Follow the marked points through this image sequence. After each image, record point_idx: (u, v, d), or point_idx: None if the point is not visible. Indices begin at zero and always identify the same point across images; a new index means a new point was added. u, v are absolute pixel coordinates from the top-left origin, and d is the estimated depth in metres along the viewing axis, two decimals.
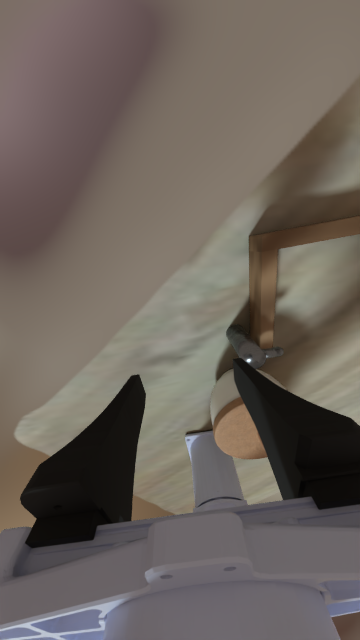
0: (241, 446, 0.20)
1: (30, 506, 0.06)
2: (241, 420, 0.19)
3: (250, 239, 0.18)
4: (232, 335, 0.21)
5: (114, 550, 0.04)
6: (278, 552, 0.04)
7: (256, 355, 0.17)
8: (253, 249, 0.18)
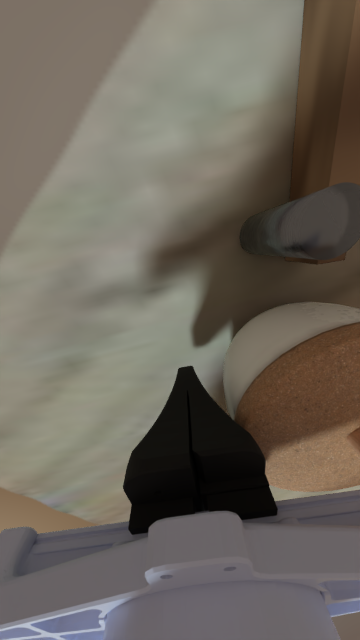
0: (301, 466, 0.09)
1: (132, 492, 0.06)
2: (318, 399, 0.07)
3: None
4: (255, 220, 0.10)
5: (114, 550, 0.04)
6: (278, 552, 0.04)
7: (343, 205, 0.06)
8: None
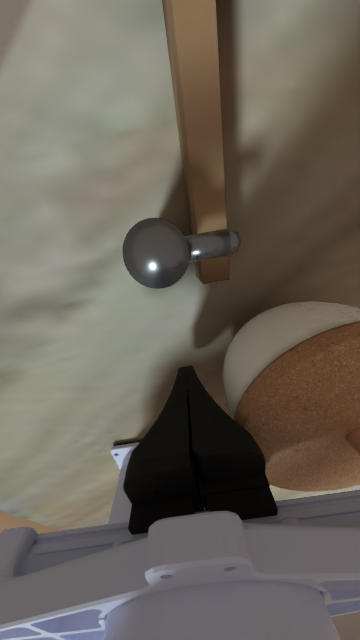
0: (301, 465, 0.09)
1: (131, 492, 0.06)
2: (318, 399, 0.07)
3: None
4: None
5: (114, 550, 0.04)
6: (278, 552, 0.04)
7: (158, 239, 0.06)
8: None
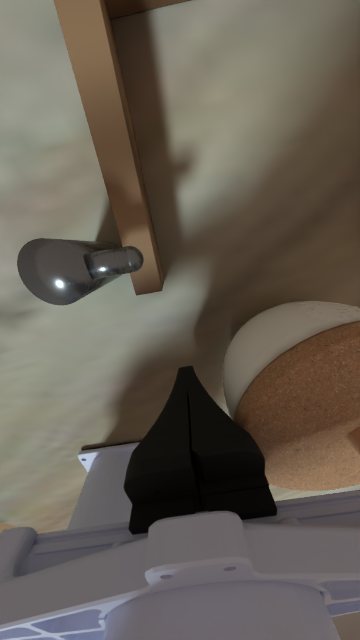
0: (301, 465, 0.09)
1: (132, 492, 0.06)
2: (318, 398, 0.07)
3: None
4: None
5: (114, 550, 0.04)
6: (278, 552, 0.04)
7: (51, 258, 0.06)
8: None
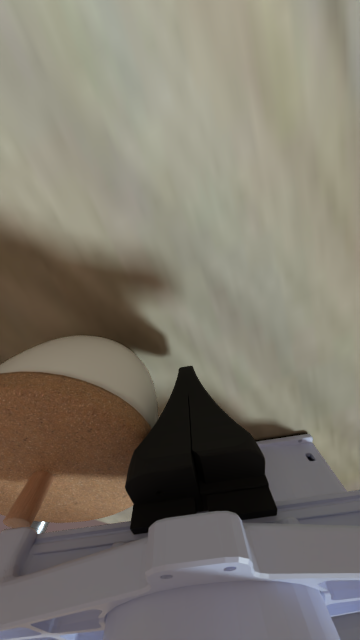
0: (97, 496, 0.09)
1: (133, 491, 0.06)
2: None
3: None
4: None
5: (114, 550, 0.04)
6: (278, 552, 0.04)
7: None
8: None
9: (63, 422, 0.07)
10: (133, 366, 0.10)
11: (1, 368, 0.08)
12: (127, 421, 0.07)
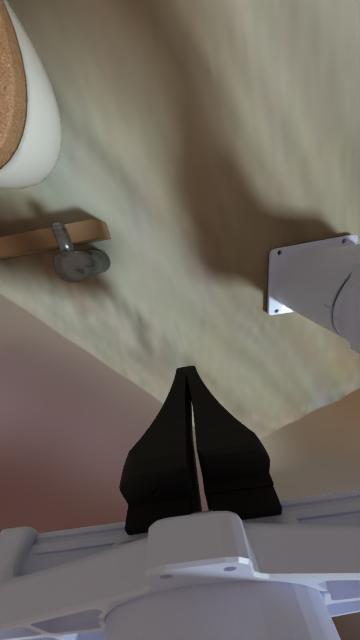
0: None
1: (128, 492, 0.06)
2: None
3: None
4: None
5: (114, 550, 0.04)
6: (278, 552, 0.04)
7: (62, 266, 0.14)
8: None
9: None
10: None
11: None
12: None
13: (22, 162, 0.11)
